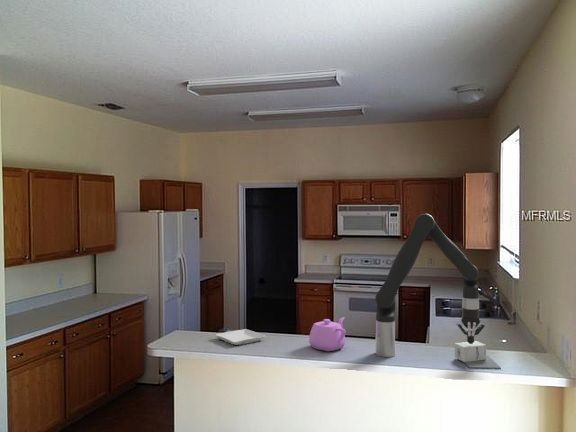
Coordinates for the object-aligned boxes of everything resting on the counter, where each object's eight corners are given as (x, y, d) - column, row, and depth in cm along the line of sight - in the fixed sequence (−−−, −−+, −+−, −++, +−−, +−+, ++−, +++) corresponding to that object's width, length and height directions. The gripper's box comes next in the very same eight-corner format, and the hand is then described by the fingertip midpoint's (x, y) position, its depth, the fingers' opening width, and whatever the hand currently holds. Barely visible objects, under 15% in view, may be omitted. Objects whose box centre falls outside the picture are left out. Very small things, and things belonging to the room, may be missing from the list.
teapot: (334, 356, 242) (334, 326, 242) (304, 347, 257) (304, 319, 257) (362, 347, 258) (362, 318, 258) (332, 339, 273) (332, 312, 273)
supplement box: (463, 347, 230) (486, 344, 233) (454, 342, 237) (476, 340, 241) (463, 362, 230) (486, 359, 233) (454, 357, 237) (476, 355, 241)
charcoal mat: (469, 368, 223) (469, 367, 223) (459, 356, 241) (459, 355, 241) (500, 369, 222) (500, 367, 222) (488, 356, 240) (488, 355, 240)
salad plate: (245, 333, 288) (245, 328, 288) (266, 341, 271) (266, 335, 271) (214, 340, 275) (214, 333, 275) (234, 348, 258) (234, 342, 258)
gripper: (458, 308, 229) (458, 345, 229) (487, 309, 227) (487, 346, 228) (454, 305, 236) (454, 341, 236) (482, 305, 235) (482, 341, 235)
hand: (470, 343), depth 232 cm, fingers closed
